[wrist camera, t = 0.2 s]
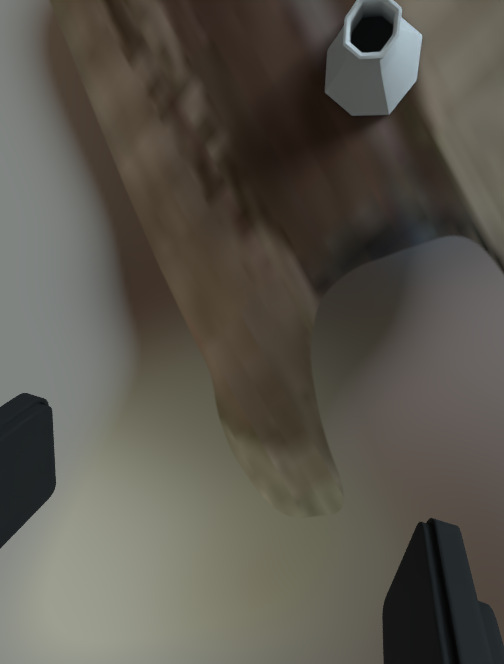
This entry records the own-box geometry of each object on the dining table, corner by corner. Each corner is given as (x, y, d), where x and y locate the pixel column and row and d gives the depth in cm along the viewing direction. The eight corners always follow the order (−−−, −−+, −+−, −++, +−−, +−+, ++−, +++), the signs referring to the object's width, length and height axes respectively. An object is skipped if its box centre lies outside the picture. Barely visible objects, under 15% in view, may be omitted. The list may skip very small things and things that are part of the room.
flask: (439, 25, 30) (469, -35, 21) (394, 131, 33) (403, 117, 24) (346, -4, 31) (336, -74, 22) (310, 101, 34) (288, 78, 25)
